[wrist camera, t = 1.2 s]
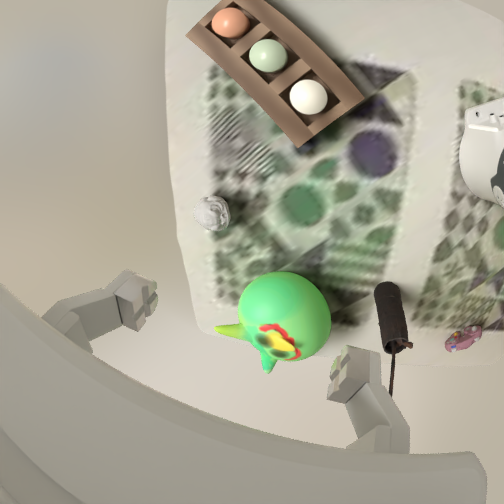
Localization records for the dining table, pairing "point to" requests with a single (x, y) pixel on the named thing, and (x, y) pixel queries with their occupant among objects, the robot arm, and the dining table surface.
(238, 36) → the terracotta button
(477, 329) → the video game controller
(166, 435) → the robot arm
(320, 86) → the cream button
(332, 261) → the dining table surface
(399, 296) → the butter churn
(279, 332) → the toy bird
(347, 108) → the button panel
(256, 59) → the sage button
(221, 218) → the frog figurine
